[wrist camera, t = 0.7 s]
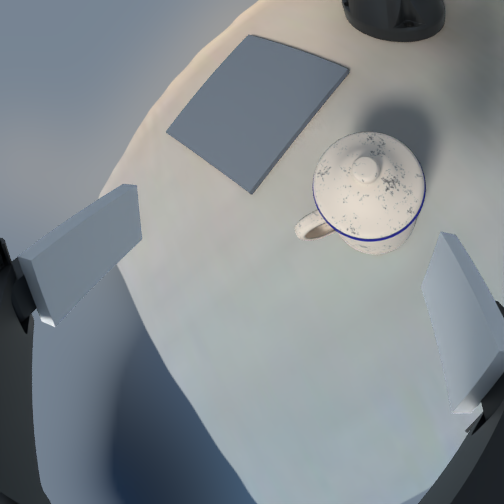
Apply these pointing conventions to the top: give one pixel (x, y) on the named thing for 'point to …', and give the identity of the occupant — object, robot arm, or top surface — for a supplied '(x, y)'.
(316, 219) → the teacup with lid
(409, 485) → the top surface
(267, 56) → the charcoal mat
